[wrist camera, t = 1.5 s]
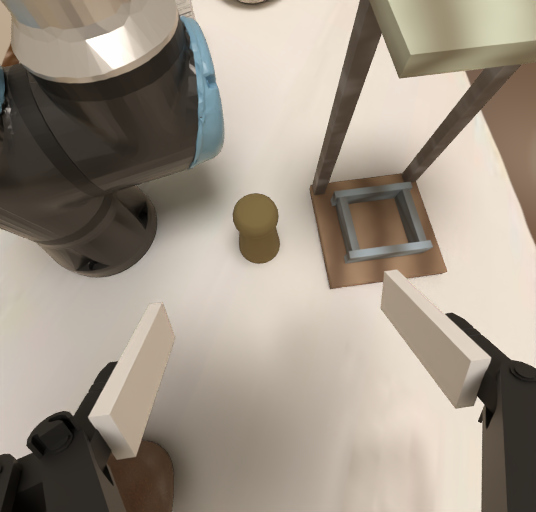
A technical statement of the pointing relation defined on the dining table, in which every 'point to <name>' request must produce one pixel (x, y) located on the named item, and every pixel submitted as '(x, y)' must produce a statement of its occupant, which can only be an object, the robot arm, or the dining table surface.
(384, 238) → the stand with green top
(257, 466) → the dining table surface
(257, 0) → the paper bowls
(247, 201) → the cork
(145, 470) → the plant pot
